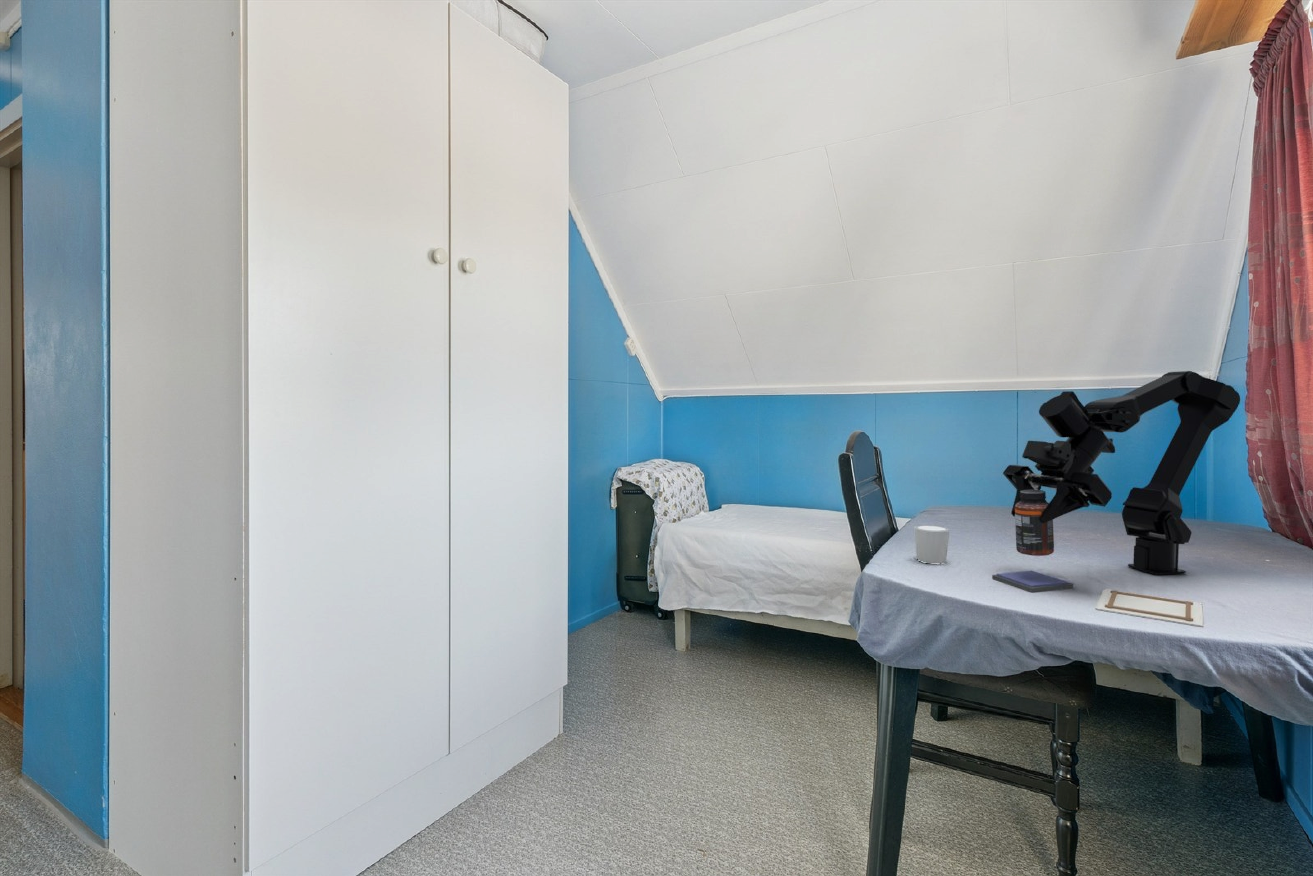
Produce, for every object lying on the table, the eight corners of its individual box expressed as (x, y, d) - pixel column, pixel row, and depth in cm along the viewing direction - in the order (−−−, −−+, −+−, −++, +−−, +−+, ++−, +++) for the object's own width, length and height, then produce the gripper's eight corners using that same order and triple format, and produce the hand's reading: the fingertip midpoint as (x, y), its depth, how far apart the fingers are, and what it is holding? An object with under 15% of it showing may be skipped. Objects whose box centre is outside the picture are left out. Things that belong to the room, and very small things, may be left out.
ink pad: (1031, 574, 121) (1031, 569, 121) (1073, 588, 112) (1073, 582, 112) (992, 578, 119) (992, 573, 119) (1031, 592, 110) (1031, 586, 110)
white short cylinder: (907, 557, 136) (907, 525, 135) (938, 556, 136) (938, 524, 136) (923, 565, 129) (924, 531, 128) (956, 564, 129) (956, 530, 129)
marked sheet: (1103, 590, 111) (1103, 587, 111) (1201, 604, 103) (1202, 601, 103) (1095, 609, 101) (1095, 606, 101) (1203, 627, 93) (1203, 623, 93)
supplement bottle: (1051, 549, 117) (1050, 488, 116) (1056, 557, 111) (1055, 493, 111) (1014, 548, 119) (1012, 488, 119) (1017, 556, 114) (1016, 493, 113)
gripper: (1011, 423, 124) (963, 482, 122) (1099, 426, 106) (1045, 496, 104) (1043, 461, 126) (997, 520, 124) (1135, 471, 108) (1082, 540, 106)
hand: (1026, 518), depth 115 cm, fingers closed on supplement bottle, 6 cm apart
